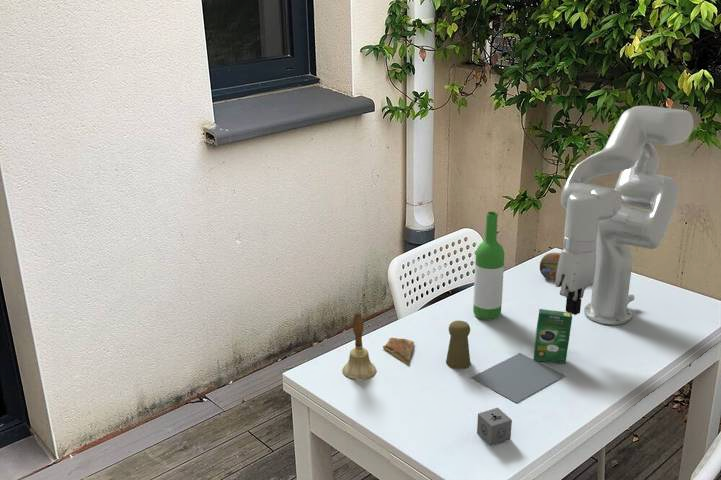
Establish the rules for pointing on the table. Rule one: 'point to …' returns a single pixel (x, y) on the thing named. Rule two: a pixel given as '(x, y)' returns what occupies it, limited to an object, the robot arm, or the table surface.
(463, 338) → the cork
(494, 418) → the dice cube
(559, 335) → the coffee box
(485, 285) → the wine bottle
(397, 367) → the table surface
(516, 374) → the slate mat
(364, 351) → the hand bell
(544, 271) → the tin
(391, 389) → the table surface
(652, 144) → the robot arm
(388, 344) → the shard
